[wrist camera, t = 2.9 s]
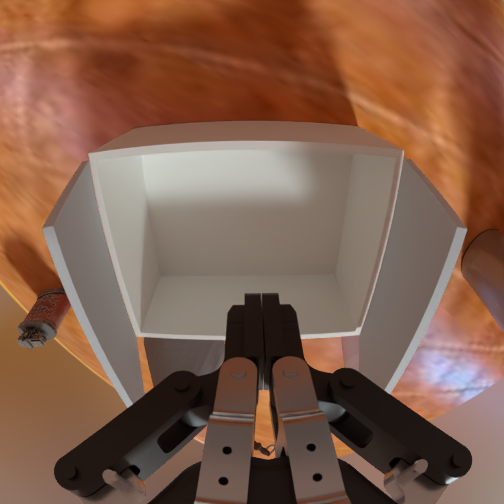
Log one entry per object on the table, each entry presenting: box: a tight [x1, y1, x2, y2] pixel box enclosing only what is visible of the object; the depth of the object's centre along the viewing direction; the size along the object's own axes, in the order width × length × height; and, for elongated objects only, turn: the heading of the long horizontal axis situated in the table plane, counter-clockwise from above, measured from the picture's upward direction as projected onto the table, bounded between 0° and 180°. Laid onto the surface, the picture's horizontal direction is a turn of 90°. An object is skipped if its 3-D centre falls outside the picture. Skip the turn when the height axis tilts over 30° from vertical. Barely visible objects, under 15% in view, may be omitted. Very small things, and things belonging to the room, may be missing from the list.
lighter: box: [17, 288, 71, 349], centre depth 34 cm, size 8×3×10 cm, turn 104°
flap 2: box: [359, 158, 467, 394], centre depth 18 cm, size 10×17×1 cm
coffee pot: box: [144, 337, 275, 456], centre depth 37 cm, size 21×12×15 cm, turn 49°
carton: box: [88, 121, 404, 340], centre depth 27 cm, size 22×18×10 cm
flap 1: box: [42, 161, 145, 408], centre depth 18 cm, size 10×17×1 cm
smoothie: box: [341, 323, 364, 372], centre depth 36 cm, size 6×6×14 cm
